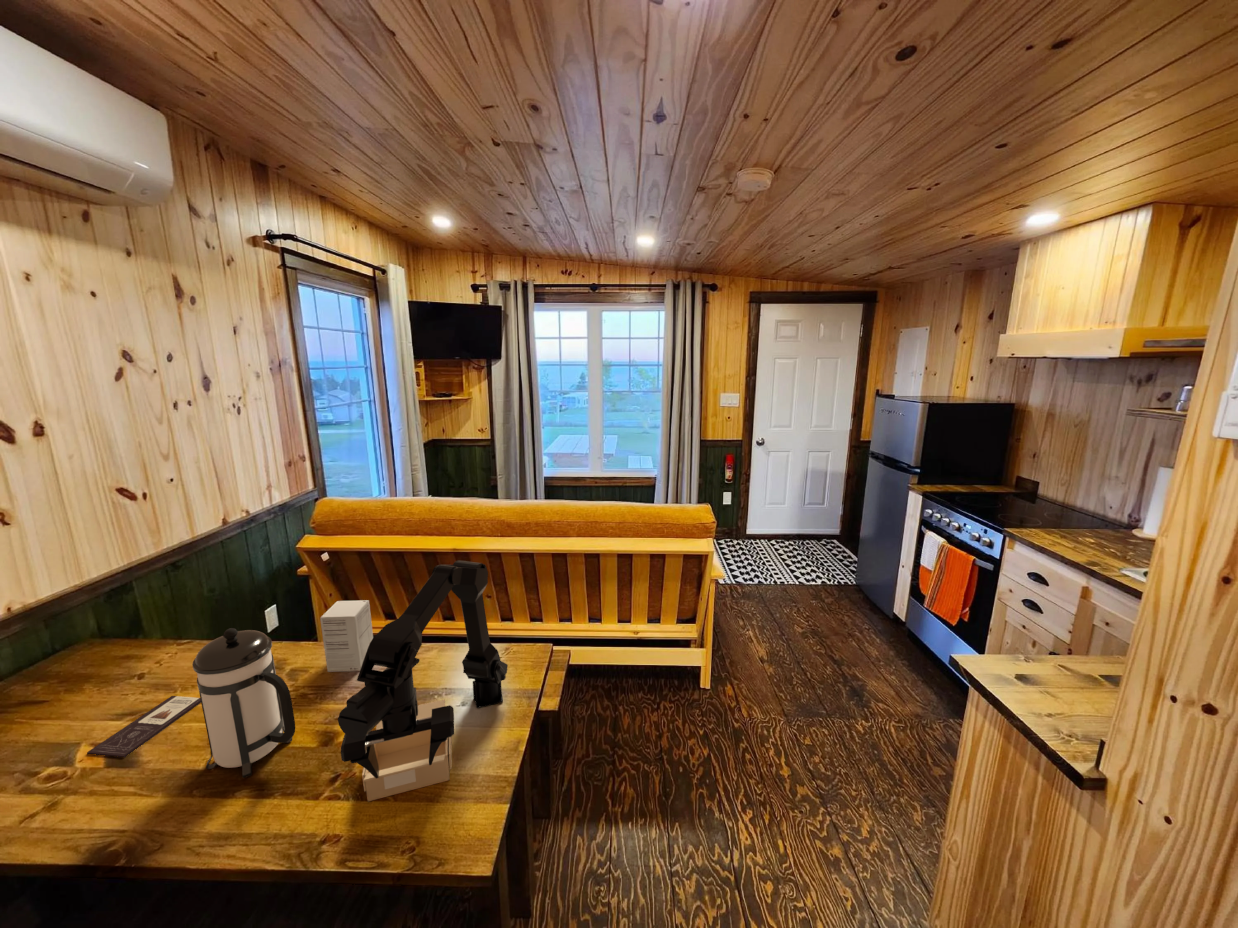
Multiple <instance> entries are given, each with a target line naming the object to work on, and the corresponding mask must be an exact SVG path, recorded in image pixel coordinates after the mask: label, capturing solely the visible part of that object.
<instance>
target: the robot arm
mask: <svg viewBox="0 0 1238 928" xmlns="http://www.w3.org/2000/svg"><path fill="white" fill-rule="evenodd" d="M487 568H488V567H487V565H486V564H484V563H482V562H475V561H468V560H467V561H466V560H456V561H454V562H453V564H438V565H435V566H434V568H433V569H432V571H431V575H430V577H429V578H428V579H427V581H426V582H425V583H424V585H423V586H422V587H421V589H420V590H419V592H418V593H417V594H416V596H414V598H413V599H412V601H410V603H409V605H408V606H407V607H406V609H405V610H404V612H402V614H401V615H400V616H399V617H398V618H396V619H394V620H392V621H390V622H389V623H387V624H385V625H384V626H383V627H382V628H381V629H380V630H379V631H378V632H377V634H375V635H374V636H373V639H372V641H371V642H370V644H369V646H368V649H367V652H366V655H365V658H364V661H363V664H362V666H361V669H360V671H359V673H358V675H357V678H356V681H357V682H359V683H364V687H362V688H361V689H360V690H359V691H358V692H356V693H355V694H353V695H352V696H351V697H349V698H348V699H347V700H346V706H345V707H344V708H342V709H341V710H340V712H339V714H338V717H337V722H338V726H339V727H340V728H339V729H341V731H342V732H343V733H344V735H343V737H342V741H341V742H342V743H341V746H340V757H341V758H340V759H341V761H342V762H344V763H346V762H349V761H350V763H351V764H358V765H360V766H361V767H362V768H363V769H364V768H365V769H367V770H368V771H369V772H370V773H371V774H372V775H373V776H374V777H375V778H376V779H377V778H379V766H378V761H377V757H376V753H375V748H374V744H376V743H380V742H385V741H389V740H393V739H398V738H402V737H405V736H409V735H413V733H417V732H421V731H426V730H430V729H431V736H430V748H429V765H432V762H433V759H434V756H435V754H436V751H437V749H438V748H439V746H440V744H441V743H442V742H445V741H446V740H447V738H448V737H451V736H452V737H453V736H454V735H455V711H454V710H455V709H454V707H453V706H452V705H451V704H448V705H445V706H444V707H440V708H435V709H432V716H431V717H427V718H423V719H418V720H417V717H416V716H418V705H419V703H418V698H417V688H416V687H415V685H414V677H413V669H414V667H415V666H417V665H418V664H419V662H420V658H417V655H418V653H419V651H420V649H421V647H422V644H423V643H422V642H423V633H424V630H425V629H426V627H427V626H428V625H429V623H430V621H431V620H432V618H433V617H434V616H435V614H436V613H437V611H438V609H439V608H440V606H441V605H442V604H443V602H444V601H445V599H446V598H447V596H448V595H449V594H450V592H452V593H453V594H454V595H455V596H456V597H457V598H458V599H459V601H460V604H461V610H462V616H463V622H464V628H465V633H466V634H465V635H466V640H467V644H468V645H467V646H468V651H467V653H466V654H465V656H464V658H463V660H462V661H461V664H462V666H463V674H465V675H466V677H467V679H469V680H473V681H472V690H473V691H472V693H473V701H474V702H475V707H476V708H477V709H478V708H484V707H488V706H492V705H497V704H502V703H503V702H504V699H503V691H502V681H504V680H506V678H507V677H506V675H507V673H508V666H509V664H508V663H506V662H504V661H502V660H501V657H500V654H499V653H500V652H499V651H498V649H497V648H496V646H494V645H493V644H492V643H491V641H490V635H489V628H488V627H489V626H488V622H487V621H488V620H487V616H486V609H485V604H484V596H483V593H484V591H485V590H486V587H487V585H488V582H489V581H488V580H489V579H488V578H489V571H488V569H487ZM375 666H377V667H378V666H379V667H383V668H385V669H384V670H383V671H382V670H377V669H376V670H375V669H373V668H374V667H375ZM381 720H382V725H383V729H378V730H376V729H374V728H376V726H377V724H378V723H379V722H380V721H381Z"/></svg>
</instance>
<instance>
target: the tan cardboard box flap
mask: <svg viewBox="0 0 1238 928" xmlns="http://www.w3.org/2000/svg"><path fill="white" fill-rule="evenodd" d="M444 706H446V699H440V700H435V701H430V702H425V703H421V704H418V716H416V717H417V720H418V719H423V718H427V717H431V716H432V709H435V708H440V707H444ZM378 729H383V725H382V720H381V721H380V722H379V723H378V724H377V725H376V726H375V730H378Z"/></svg>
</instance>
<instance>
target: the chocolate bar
mask: <svg viewBox="0 0 1238 928" xmlns="http://www.w3.org/2000/svg"><path fill="white" fill-rule="evenodd" d="M200 704H201V699H200V697H193V696H181V695H180V696H177V695H170V696H169V697H167V699H165V700H162V702H160V703H158V704H157V705H156V706H154V707H153V708H152V709H150V710H148V711H147V712H146V713H144V714H142V715H141V716H140V717H138V718H136V719H135V720H133V721H132V722H131V723H129V724H127V725H126V726H125V727H123V728H121V729H120V730H117V732H116V733H114V734H113V735H111V736H109V737H107V738H106V739H105V740H104V741H102V742H101V743H99V744H97V745H96V746H94V747H93V748H92V749H90V750H88V751H87V752H86V755H88V754H96V755H95V756H98V755H105V756H104V757H109V756H115V757H114V758H120V757H124V758H123V759H125V758H127V757H128V756H129V755H131V754H132V753H133V751H134V750H135V749H136V750H138V749H139V748H140V747H142V746H143V745H144V743H145V742H146V743H147V742H149V741H150V740H152V739H153V738H154V737H155V736H158V734H160V733H161V732H163V731H164V730H166V729H167V728H168V727H170V726H171V725H172V724H173V723H175V722H176V721H177V720H179V719H181V718H182V717H183V716H185V715H186V714H188V713H189V712H190V711H192V710H193V709H195V708H196V707H197V706H198V705H200ZM146 743H145V744H146ZM141 745H142V746H141ZM139 746H140V747H139ZM138 747H139V748H138ZM137 748H138V749H137ZM136 750H135V751H136ZM135 751H134V752H135ZM131 752H132V753H131ZM130 753H131V754H130ZM128 754H129V755H128ZM127 755H128V756H127ZM117 756H118V757H117ZM126 756H127V757H126Z"/></svg>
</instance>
